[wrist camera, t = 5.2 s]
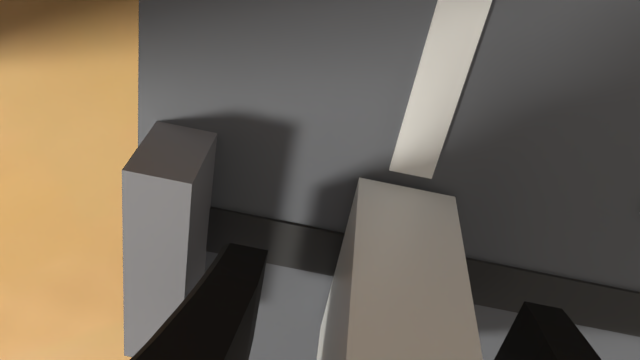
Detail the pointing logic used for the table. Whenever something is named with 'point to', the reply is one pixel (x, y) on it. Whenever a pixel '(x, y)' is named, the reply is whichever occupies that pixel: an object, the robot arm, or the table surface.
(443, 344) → the fader tab
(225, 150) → the console
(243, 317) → the robot arm
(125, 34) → the table surface
